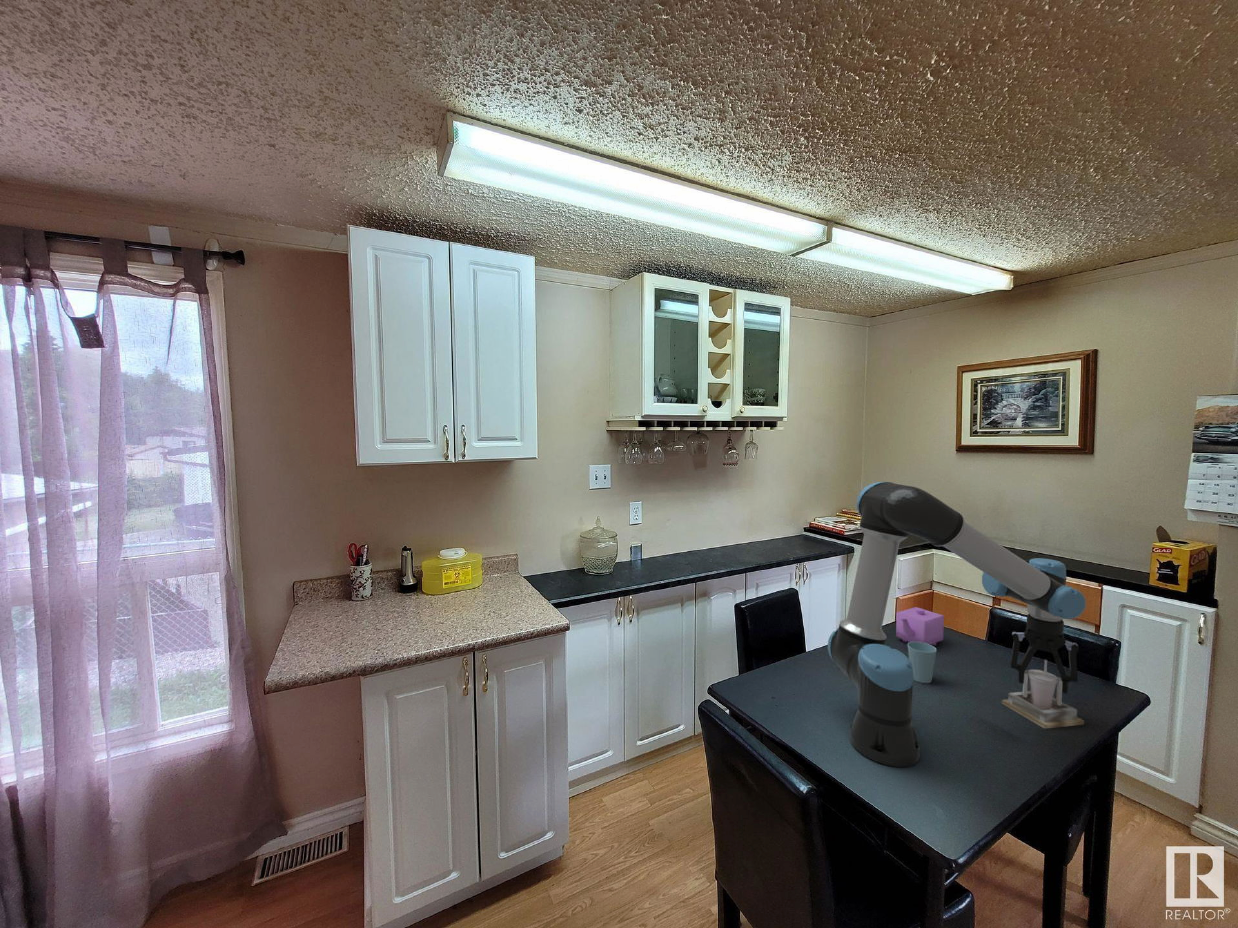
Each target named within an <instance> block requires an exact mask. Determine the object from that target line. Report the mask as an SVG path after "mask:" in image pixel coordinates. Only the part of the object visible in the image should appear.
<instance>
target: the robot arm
mask: <svg viewBox="0 0 1238 928" xmlns="http://www.w3.org/2000/svg"><path fill="white" fill-rule="evenodd" d="M856 509H857V512H858V513H859V515H860V516H861V517H860V523H859V526H858V527H859V529H860V530H861V532H862V533H863V538H862V543H861V548H860V554H859V559H858V564H857V569H856V573H855V578H854V582H853V583H854V584H853V588H852V593H851V596H850V597H851V598H850V602H849V607H848V612H847V615H846V618H844V619H843V620H841V621H839V624H838V627H837V628H836V629H835V630H834V631H832V632H831V634H830V635H829V637H828V641H827V650H828V651H827V652H828V654H829V657H830V658H831V660H832V661H833V664H834V665H835V666H836V667H837V669H838V670H840V671H841V672H842V673H843V674H844V675H845V676H846V677H847V678H848V679H849V680H850V681H851V682H852V683H853V685H854V686H855V687H856V688H857V691H858V692H857V711H856V713H855V716H854V719H853V722H852V723H851V724H850V728H849V741H850V744H851V745H852V747H853V748H854V749H855V750H856V751H857V752H859V754H861V755H862V754H863V755H862V756H864V757H866V758H867V757H868V758H867V759H869V760H871V759H872V761H873V760H874V761H873V762H876V763H878V762H879V764H881V763H882V765H886V766H889V765H890V766H891V767H897V768H898V767H899V768H900V767H901V768H902V767H905V768H906V767H910V766H913V765H915V764H917V763H918V762H919V760H920V756H921V755H920V753H921V752H920V751H921V750H920V744H919V741H918V740H919V739H918V738H917V734H916V731H915V729H914V725H913V697H914V696H913V691H914V690H913V689H914V682H915V680H914V676H913V667H912V664H911V662H910V660H909V657H907V656H906V654H904V653H903V652H902V651H900V650H899V649H897V648H891V646H888V645H886V641H887V635H886V634H885V632H884V630H883V629H882V628H883V624H884V619H885V614H886V608H887V604H888V599H889V595H890V591H891V586H892V580H893V575H894V570H895V566H896V561H897V556H898V552H899V548H900V543H901V542H903V541H904V540H906V539H908V537H909V535H912V536H915V537H918V538H920V539H922V540H924V541H926V542H928V543H929V544H931V545H932V546H934V547H943V548H945V549H946V550H947V551H948V550H949V551H950V552H951V553H953V554H955V555H956V556H958V557H959V558H960V559H962V560H964V561H965V562H967V563H969V564H970V565H972V566H973V567H975V568H977V569H978V570H980V571H981V572H982V575H981V585H982V587H983V589H984V590H985V591H986V592H987V594H989V595H991V596H992V597H993V596H994V597H1001V598H1004V597H1009V598H1011V599H1014V600H1017V601H1019V602H1021V603H1025V604H1027V605H1026V606H1027V607H1026V612H1027V615H1026V628H1025V630H1024V632H1017V631H1012V632H1011V635H1012V636H1011V637H1012V639H1013V643H1012V649H1011V650H1012V651H1011V654H1010V657H1011V658H1010V664H1009V665H1010V667H1011V669H1014V670H1016V671H1017V672H1018V674H1017V675H1018V678H1017V680H1018V681H1017V682H1018V683H1019V684H1022V692H1023V697H1027V691H1028V684H1029V683H1028V682H1029V677H1028V670H1027V669H1028V667H1029V664H1030V663H1031V661H1032V659H1033V657H1034V655H1035V654H1036V653H1037V651H1045V652H1046V653H1050V654H1052V656H1053V660H1054V662H1055V665H1056V666H1057V670H1058V673H1059V675H1060V677H1058V676H1056V677H1057V678H1058V683H1057V684H1056V696H1055V697H1056V698H1055V699H1056V701H1057V705H1060V706H1061V704H1062V702H1063V700H1062V699H1063V694H1068V691H1069V689H1068V688H1069V683H1071V682H1073V683H1077V682H1078V681H1079V679H1078V678H1079V677H1078V662H1077V661H1078V660H1077V653H1078V651H1079V649H1080V647H1079V645H1078V644H1077V642H1075V641H1074V642H1072V641H1069V640H1067V639H1066V638H1065V637H1064V627H1065V626H1064V625H1065V621H1064V619H1066V620H1071V619H1072V620H1073V619H1076V618H1078V617H1079V616H1081V615H1082V613H1083V612H1084V611H1085V609H1086V606H1087V601H1086V598H1085V596H1084V594H1083V593H1082V592H1081V591H1079V590H1078V589H1075V588H1073V587H1071V586H1070V585H1067V568H1066V565H1065V563H1064V562H1062V561H1059V560H1055V559H1050V558H1043V557H1041V558H1040V557H1039V558H1038V557H1037V558H1036V557H1035V558H1030V559H1029V561H1026V560H1025V559H1023V558H1021V557H1020V556H1018V555H1017V554H1015V553H1013V551H1012V552H1011V551H1010V550H1009V549H1007V548H1005V547H1004V546H1002V545H1001V544H999V543H998V542H997V541H995V540H993V538H991V537H989V536H987V535H986V534H984V533H982V532H981V531H979V530H978V529H976V528H974V527H973V526H972V525H970V524H969V523H966V522H965V518H964V516H963V515H962V513H960V512H958V511H957V510H955V509H953V508H952V507H951V506H949V505H948V504H946V503H944V501H942V500H940V499H939V498H937V497H936V496H934V495H932V494H931V493H929V492H928V491H926V490H924V489H922V488H919V487H916V486H910V485H905V484H900V483H899V484H898V483H894V482H892V481H891V482H890V481H889V482H888V481H879V482H878V481H877V482H876V481H875V482H872V483H870V484H869V485H867V486H865V487H864V488H863V489H861V491H860V492H859V494H858V496H857V499H856ZM1024 638H1025V639H1026V641H1028V643H1029V645H1028V648H1027V650H1026V651H1025V653H1024V655H1023V657H1022V660H1021V661H1020V663H1018V661H1019V659H1018V658H1019V653H1020V651H1019V650H1020V646H1021V643H1020V642H1023V639H1024ZM1063 646H1065V648H1066V649H1067V651H1068V663H1069V674H1067V673H1066V670H1065V668H1064V665H1063V663H1062V660H1061V657H1060V654H1059V652H1058V650H1059V649H1060V648H1062V647H1063Z"/></svg>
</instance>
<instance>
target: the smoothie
mask: <svg viewBox="0 0 1238 928" xmlns="http://www.w3.org/2000/svg"><path fill="white" fill-rule="evenodd" d="M1043 663H1044V665H1043V666H1044V667H1043V670H1041V669H1029V670H1027V672H1028V682H1029V683H1028V684H1029V689H1030V690H1029V691H1031V700H1032V704H1034V705H1035V706H1037V707H1039V708H1041V709H1043V710H1051V706H1052V701H1053V698H1055V697H1054V696H1055V691H1056V689H1057V683H1058V678H1059V677H1058V676H1056V675H1055V674H1053V673H1051V672H1048V659H1044V662H1043ZM1057 677H1058V678H1057Z"/></svg>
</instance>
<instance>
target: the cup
mask: <svg viewBox="0 0 1238 928" xmlns="http://www.w3.org/2000/svg"><path fill="white" fill-rule="evenodd" d="M907 651H908V659H909V660H910V662H911V664H912V667H913V676H914V682H918V683H921V684H931V683H932V680H933V675H934V668H935V661H936V655H937V648H936V647H935V645H929V644H927V643H922V642H907Z"/></svg>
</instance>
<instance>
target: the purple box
mask: <svg viewBox="0 0 1238 928" xmlns="http://www.w3.org/2000/svg"><path fill="white" fill-rule="evenodd" d="M895 621H896V626H895V627H896V628H895V630H896V631H895V636H896V637H897V638H899V639H901V641H902V642H904V643H909V642H922V643H927V644H929V645H932V646H937V645H938V644H937V643H938V642H939V643H940V642H941V641H944V629H945V628H944V627H945V626H944V625H945V623H944V622H945V615H943V614H939V613H937V612H933V611H930V610H927V609H924V608H920V607H917V606H915V607H911V608H908V609H904V610H902V611H900V610H899V611H897V612H896V620H895Z"/></svg>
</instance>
